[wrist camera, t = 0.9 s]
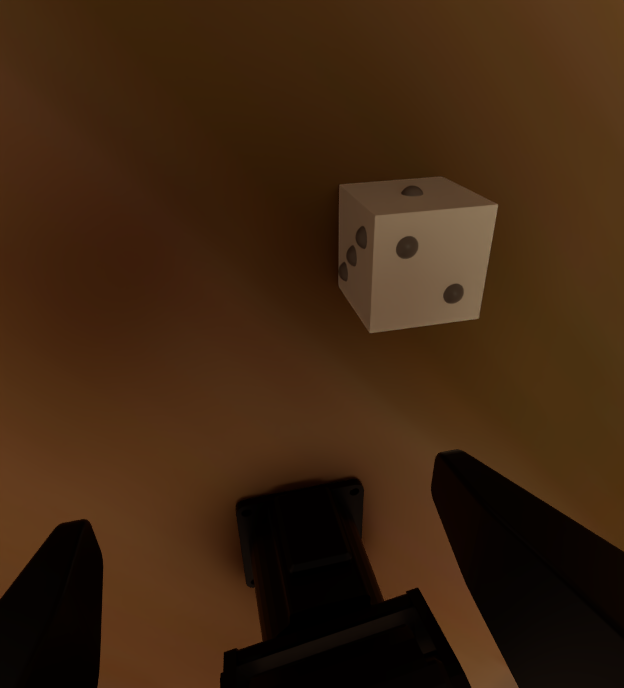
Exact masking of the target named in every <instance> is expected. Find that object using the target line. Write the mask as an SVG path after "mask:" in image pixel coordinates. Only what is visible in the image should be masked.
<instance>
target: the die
mask: <svg viewBox="0 0 624 688" xmlns="http://www.w3.org/2000/svg"><path fill="white" fill-rule="evenodd" d="M497 209H498V204H496V203H494V202H492V201H490V200H488V199H486V198H484V197H482V196H480V195H478V194H476V193H474V192H472V191H470V190H468V189H466V188H464V187H462V186H460V185H458V184H456V183H454V182H452V181H450V180H448V179H446V178H444V177H442V176H441V177H428V178H415V179H402V180H389V181H377V182H364V183H351V184H339V267H338V286H339V288H340V289H341V291H342V292H343V294H344V295H345V297H346V298H347V300H348V301H349V303H350V304H351V306H352V307H353V309H354V310H355V312H356V314H357V315H358V317H359V318H360V320H361V321H362V323H363V324H364V326H365V327H366V329H367V330H368V332H369V333H376V332H383V331H391V330H398V329H406V328H413V327H420V326H428V325H435V324H443V323H450V322H457V321H465V320H472V319H479V313H480V307H481V302H482V296H483V290H484V284H485V278H486V273H487V267H488V261H489V255H490V249H491V244H492V238H493V232H494V226H495V220H496V215H497Z"/></svg>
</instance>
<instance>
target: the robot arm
mask: <svg viewBox="0 0 624 688" xmlns="http://www.w3.org/2000/svg"><path fill="white" fill-rule="evenodd" d="M354 488H355V489H354ZM431 492H432V497H433V501H434V503H435V506H436V508H437V511H438V514H439V516H440V519H441V521H442V524H443V527H444V529H445V532H446V534H447V537H448V539H449V542H450V545H451V547H452V550H453V552H454V555H455V558H456V560H457V563H458V565H459V568H460V570H461V573H462V575H463V578H464V580H465V582H466V585H467V587H468V589H469V591H470V593H471V595H472V597H473V599H474V601H475V603H476V605H477V607H478V609H479V611H480V613H481V615H482V617H483V619H484V620H485V622H486V624H487V626H488V628H489V630H490V632H491V634H492V636H493V638H494V640H495V642H496V644H497V646H498V648H499V650H500V652H501V654H502V656H503V658H504V659H505V661H506V663H507V665H508V667H509V669H510V671H511V673H512V675H513V677H514V679H515V681H516V683H517V685H518V687H519V688H624V552H623V551H622V550H620V549H619V548H617V547H615V546H614V545H612V544H611V543H609V542H607V541H606V540H604V539H603V538H601V537H599V536H598V535H596V534H595V533H593V532H592V531H590V530H588V529H587V528H585V527H584V526H582V525H580V524H579V523H577V522H576V521H574V520H572V519H571V518H569V517H568V516H566V515H564V514H563V513H561V512H560V511H558V510H557V509H555V508H553V507H552V506H550V505H549V504H547V503H545V502H544V501H542V500H541V499H539V498H537V497H536V496H534V495H533V494H531V493H529V492H528V491H526V490H525V489H523V488H521V487H520V486H518V485H517V484H515V483H514V482H512V481H510V480H509V479H507V478H506V477H504V476H502V475H501V474H499V473H498V472H496V471H494V470H493V469H491V468H490V467H488V466H486V465H485V464H483V463H482V462H480V461H479V460H477V459H475V458H474V457H472V456H471V455H469V454H467V453H466V452H464V451H462V450H458V449H456V450H450V451H445V452H440V453H438V454H437V456H436V458H435V462H434V469H433V476H432V483H431ZM363 497H364V489H363V486H362V483H361V481H359V480H357V479H351V480H345V481H340V482H335V483H330V484H325V485H319V486H314V487H309V488H304V489H298V490H293V491H288V492H283V493H278V494H272V495H267V496H262V497H257V498H252V499H246V500H243V501H240V502H239V503H238V504H237V505H236V516H237V523H238V530H239V537H240V543H241V550H242V557H243V564H244V571H245V578H246V584H247V586H249V587H252V588H254V587H255V592H256V599H257V606H258V612H259V619H260V626H261V633H262V640H263V642H261V643H258V644H255V645H252V646H249V647H246V648H243V649H240V650H238V649H237V648H235V649H232V650H229V651H226V652H224V669H223V673H221V678H220V688H471V686H470V684H469V681H468V679H467V677H466V675H465V673H464V671H463V669H462V667H461V665H460V663H459V661H458V659H457V657H456V656H455V654H454V652H453V650H452V648H451V647H450V645H449V643H448V641H447V639H446V637H445V636H444V634H443V632H442V630H441V628H440V626H439V625H438V623H437V621H436V619H435V617H434V616H433V614H432V612H431V610H430V608H429V606H428V605H427V603H426V601H425V599H424V597H423V596H422V594H421V592H420V590H419V588H415V589H412V590H409V591H406V594H404V595H401V596H398V597H395V598H392V599H389V600H386V601H384V599H383V596H382V594H381V591H380V588H379V586H378V583H377V580H376V578H375V575H374V572H373V570H372V567H371V564H370V562H369V559H368V556H367V554H366V551H365V548H364V546H363V543H362V540H361V539H362V518H363ZM246 509H248V510H246ZM102 589H103V558H102V553H101V550H100V547H99V545H98V542H97V539H96V536H95V534H94V531H93V528H92V526H91V523H90V522H89V521H88V520H86V519H81V520H76V521H71V522H65V523H61V524H59V525H58V526H57V527H56V528H55V529H54V530H53V531H52V533H51V534H50V535H49V537H48V538H47V539H46V540H45V542H44V543H43V544H42V546H41V547H40V548H39V550H38V551H37V552H36V553H35V555H34V556H33V557H32V559H31V560H30V561H29V563H28V564H27V565H26V566H25V568H24V569H23V570H22V572H21V573H20V574H19V576H18V577H17V578H16V579H15V581H14V582H13V583H12V585H11V586H10V587H9V589H8V590H7V591H6V592H5V594H4V595H3V596H2V598H1V599H0V688H97V686H98V678H99V667H100V646H101V617H102Z"/></svg>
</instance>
